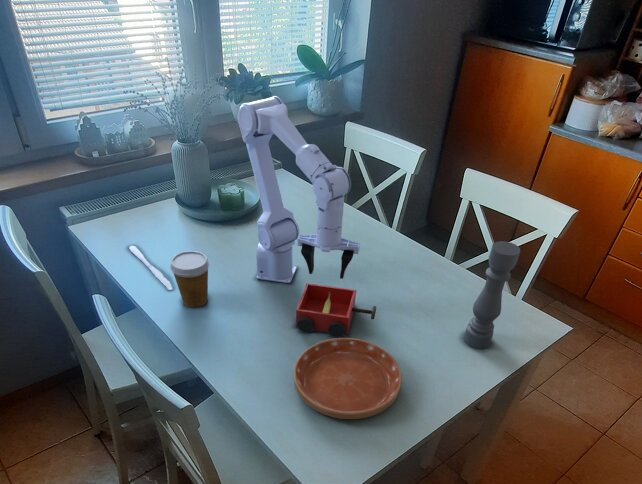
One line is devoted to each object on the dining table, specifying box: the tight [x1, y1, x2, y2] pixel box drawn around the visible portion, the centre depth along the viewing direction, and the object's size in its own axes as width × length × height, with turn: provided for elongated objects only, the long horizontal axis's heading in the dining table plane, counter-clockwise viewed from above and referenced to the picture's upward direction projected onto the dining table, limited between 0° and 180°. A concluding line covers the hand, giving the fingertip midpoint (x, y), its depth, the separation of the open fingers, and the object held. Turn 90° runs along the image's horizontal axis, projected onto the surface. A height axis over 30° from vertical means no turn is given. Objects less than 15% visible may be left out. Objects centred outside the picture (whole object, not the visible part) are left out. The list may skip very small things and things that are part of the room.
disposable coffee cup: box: [169, 250, 210, 308], centre depth 129 cm, size 10×10×12 cm
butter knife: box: [128, 245, 174, 291], centre depth 144 cm, size 1×27×3 cm
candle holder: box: [463, 240, 521, 350], centre depth 115 cm, size 6×6×25 cm
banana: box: [322, 293, 331, 314], centre depth 127 cm, size 8×2×4 cm, turn 168°
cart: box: [295, 282, 357, 336], centre depth 127 cm, size 13×12×5 cm
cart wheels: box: [296, 305, 377, 338], centre depth 127 cm, size 18×14×4 cm
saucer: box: [293, 337, 403, 420], centre depth 110 cm, size 23×23×4 cm
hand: (326, 274), depth 126 cm, fingers open, 7 cm apart
